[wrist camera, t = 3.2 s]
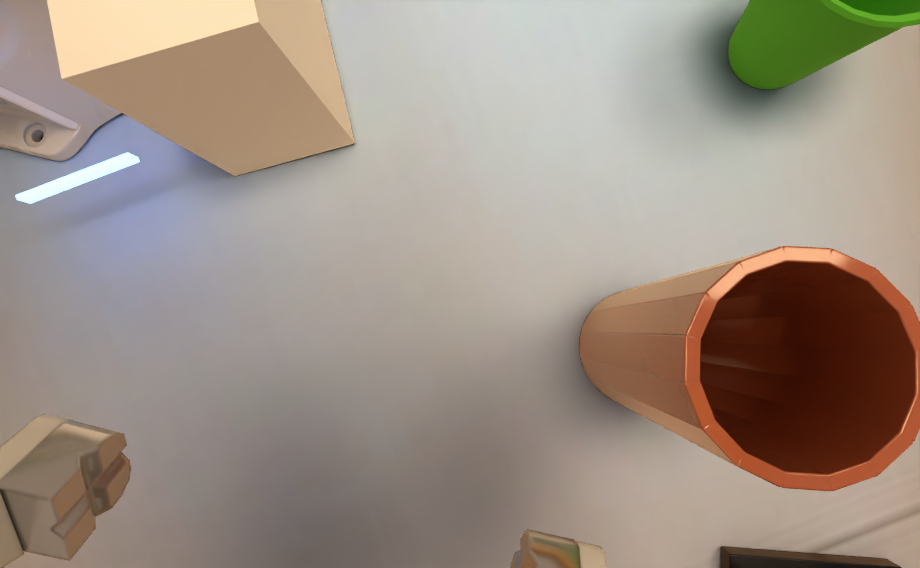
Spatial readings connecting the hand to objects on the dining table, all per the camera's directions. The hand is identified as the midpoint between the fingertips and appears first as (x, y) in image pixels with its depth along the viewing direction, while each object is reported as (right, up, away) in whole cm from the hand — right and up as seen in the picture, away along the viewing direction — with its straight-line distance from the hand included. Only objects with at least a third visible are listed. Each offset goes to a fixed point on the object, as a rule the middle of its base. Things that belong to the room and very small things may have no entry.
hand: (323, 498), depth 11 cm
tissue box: (-8, +27, +19) cm, 34 cm away
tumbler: (+14, 0, +24) cm, 27 cm away
